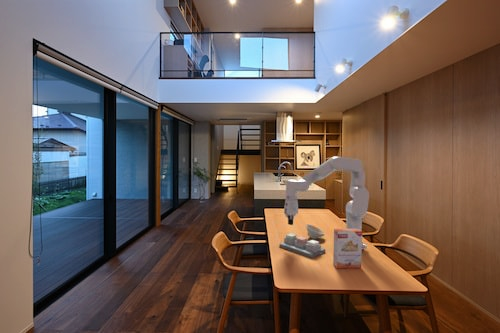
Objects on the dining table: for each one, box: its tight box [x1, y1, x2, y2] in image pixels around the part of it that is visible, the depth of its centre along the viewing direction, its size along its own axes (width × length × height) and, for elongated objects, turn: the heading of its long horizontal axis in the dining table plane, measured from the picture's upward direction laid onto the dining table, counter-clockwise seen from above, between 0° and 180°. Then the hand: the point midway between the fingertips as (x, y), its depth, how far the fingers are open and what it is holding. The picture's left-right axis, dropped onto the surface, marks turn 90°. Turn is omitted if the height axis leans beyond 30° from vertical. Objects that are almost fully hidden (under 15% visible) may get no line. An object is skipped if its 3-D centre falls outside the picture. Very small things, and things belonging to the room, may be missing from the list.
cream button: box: [307, 239, 320, 247], centre depth 162 cm, size 5×5×3 cm
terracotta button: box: [296, 236, 308, 243], centre depth 169 cm, size 5×5×3 cm
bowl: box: [305, 224, 325, 240], centre depth 191 cm, size 15×14×10 cm
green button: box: [285, 232, 297, 240], centre depth 176 cm, size 5×5×3 cm
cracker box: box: [332, 228, 363, 269], centre depth 143 cm, size 14×6×21 cm, turn 93°
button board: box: [279, 236, 326, 259], centre depth 169 cm, size 26×15×6 cm, turn 41°
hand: (290, 224), depth 176 cm, fingers closed
